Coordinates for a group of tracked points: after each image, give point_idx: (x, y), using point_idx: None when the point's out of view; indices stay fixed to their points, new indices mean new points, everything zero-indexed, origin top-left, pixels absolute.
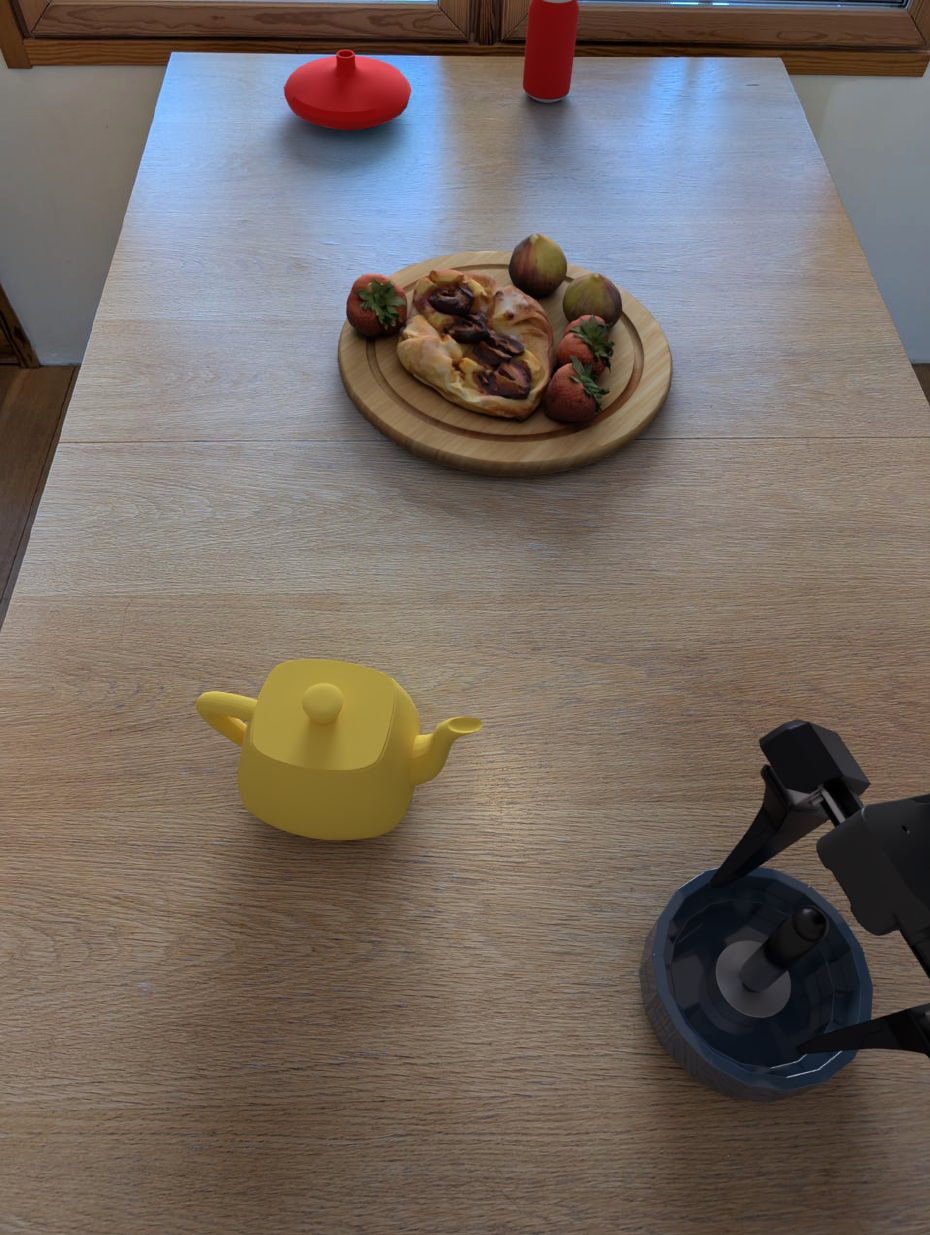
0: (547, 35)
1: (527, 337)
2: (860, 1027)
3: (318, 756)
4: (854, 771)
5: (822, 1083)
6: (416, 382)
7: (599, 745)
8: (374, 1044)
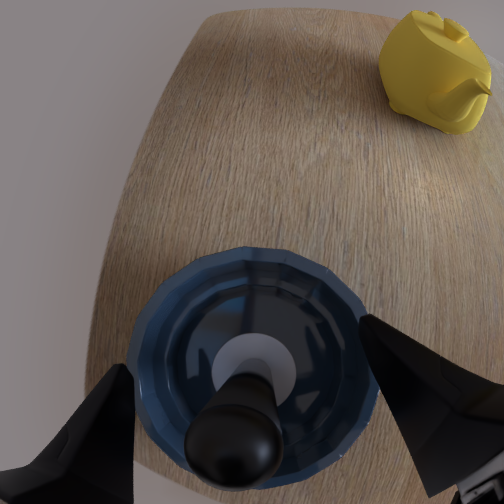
0: None
1: None
2: (77, 439)
3: (422, 24)
4: None
5: None
6: None
7: (475, 280)
8: (253, 92)
